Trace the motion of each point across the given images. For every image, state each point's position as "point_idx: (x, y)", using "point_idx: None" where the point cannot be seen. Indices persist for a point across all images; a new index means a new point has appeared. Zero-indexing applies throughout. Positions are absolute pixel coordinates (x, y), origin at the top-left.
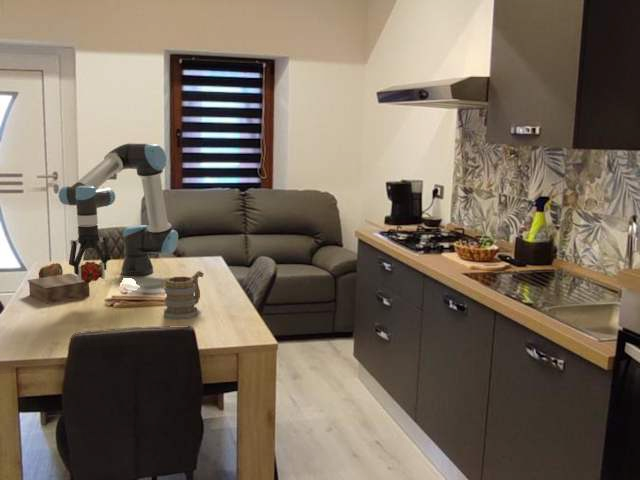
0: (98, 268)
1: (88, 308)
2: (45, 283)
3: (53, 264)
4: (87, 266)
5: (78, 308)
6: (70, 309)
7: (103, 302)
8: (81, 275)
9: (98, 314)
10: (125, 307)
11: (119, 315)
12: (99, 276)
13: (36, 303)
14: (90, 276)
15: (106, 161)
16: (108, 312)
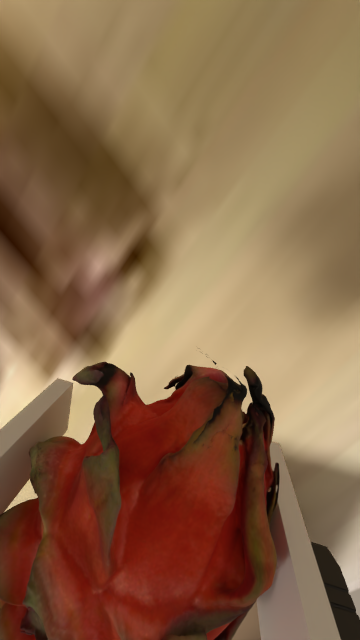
0: (45, 483)
1: (245, 305)
2: (253, 630)
3: None
4: (183, 609)
5: (273, 344)
6: (307, 361)
7: (132, 331)
8: (275, 500)
9: (300, 153)
10: (111, 155)
11: (244, 7)
12: (118, 372)
13: (314, 530)
14: (259, 381)
15: None
16: (237, 142)
